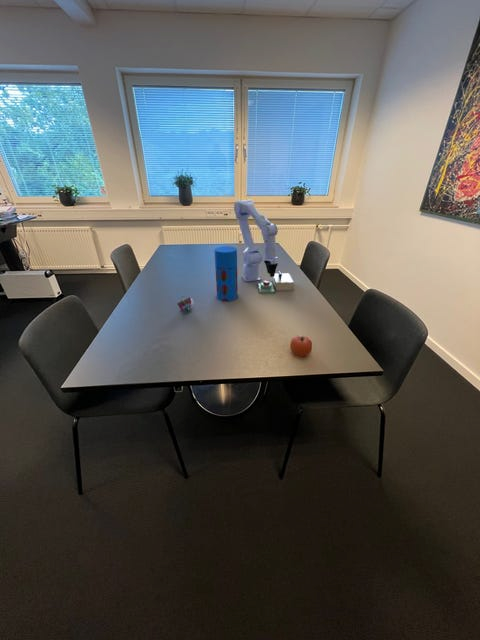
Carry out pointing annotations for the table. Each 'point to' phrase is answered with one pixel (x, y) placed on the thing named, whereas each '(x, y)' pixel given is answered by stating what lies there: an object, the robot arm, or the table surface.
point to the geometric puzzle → (185, 303)
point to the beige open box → (283, 286)
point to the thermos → (226, 272)
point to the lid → (283, 278)
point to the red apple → (301, 345)
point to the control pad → (266, 288)
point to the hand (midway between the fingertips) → (271, 274)
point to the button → (266, 282)
